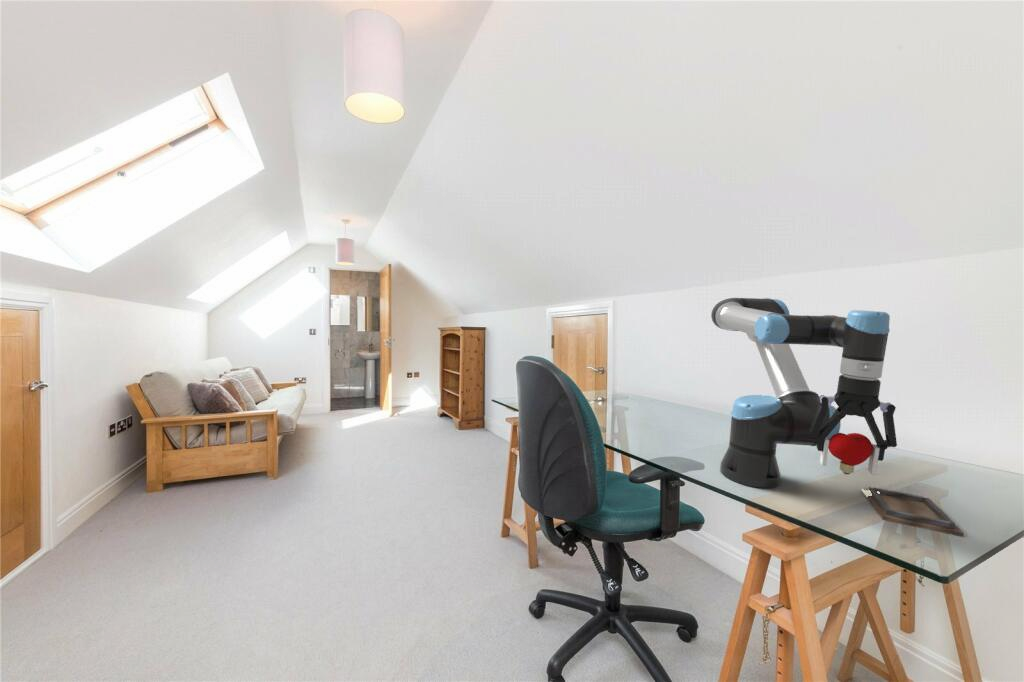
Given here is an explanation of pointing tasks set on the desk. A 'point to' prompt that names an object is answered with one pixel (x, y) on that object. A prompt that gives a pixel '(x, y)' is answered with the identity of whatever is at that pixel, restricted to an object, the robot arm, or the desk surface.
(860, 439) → the red heart on stub
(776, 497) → the desk surface
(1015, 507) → the desk surface
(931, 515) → the dark wooden picture frame
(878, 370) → the robot arm
